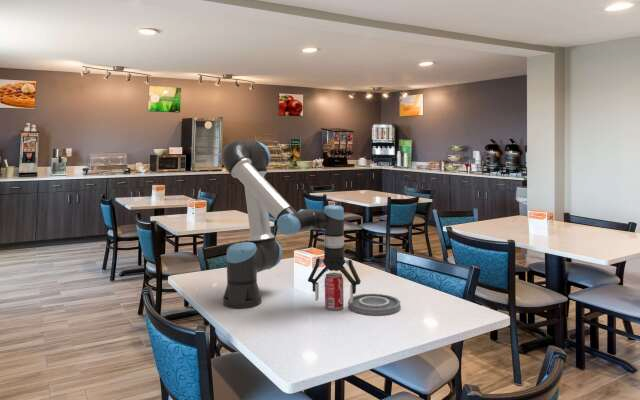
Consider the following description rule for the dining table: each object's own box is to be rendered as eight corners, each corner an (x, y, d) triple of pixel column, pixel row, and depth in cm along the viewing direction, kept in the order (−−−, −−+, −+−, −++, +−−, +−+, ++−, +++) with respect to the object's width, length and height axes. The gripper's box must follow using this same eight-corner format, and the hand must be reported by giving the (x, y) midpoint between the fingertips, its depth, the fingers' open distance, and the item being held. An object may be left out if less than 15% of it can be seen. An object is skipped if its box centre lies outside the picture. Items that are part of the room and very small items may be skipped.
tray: (344, 313, 175) (344, 307, 174) (352, 297, 194) (352, 291, 194) (399, 317, 171) (399, 310, 170) (401, 300, 190) (401, 294, 190)
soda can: (341, 311, 177) (341, 277, 176) (323, 310, 179) (323, 276, 178) (344, 305, 184) (344, 272, 183) (326, 304, 186) (326, 272, 185)
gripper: (299, 247, 178) (300, 301, 180) (365, 249, 173) (365, 305, 175) (304, 243, 185) (305, 296, 188) (367, 245, 180) (367, 299, 182)
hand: (334, 300), depth 181 cm, fingers open, 13 cm apart
